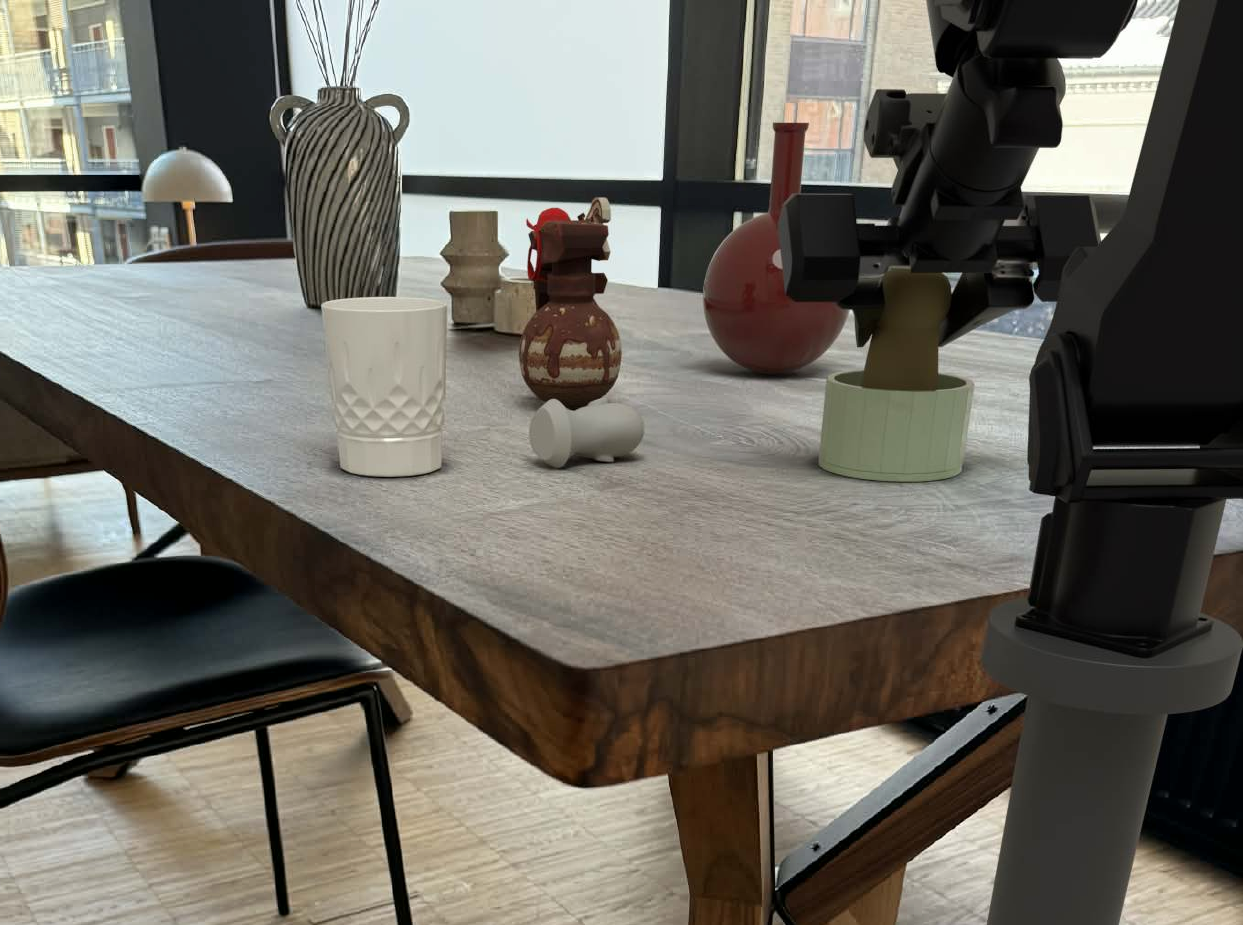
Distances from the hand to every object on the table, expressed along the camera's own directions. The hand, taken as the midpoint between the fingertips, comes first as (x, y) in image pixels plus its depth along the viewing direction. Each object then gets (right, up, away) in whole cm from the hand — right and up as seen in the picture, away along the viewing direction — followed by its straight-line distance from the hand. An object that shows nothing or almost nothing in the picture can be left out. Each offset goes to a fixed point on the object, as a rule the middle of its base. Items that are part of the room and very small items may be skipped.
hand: (898, 341), depth 94 cm
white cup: (-33, -8, +2) cm, 34 cm away
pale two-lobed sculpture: (-20, -7, +4) cm, 22 cm away
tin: (0, -7, +3) cm, 8 cm away
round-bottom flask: (-2, +12, +38) cm, 40 cm away
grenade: (-21, +4, +22) cm, 31 cm away
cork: (0, -7, +2) cm, 7 cm away
